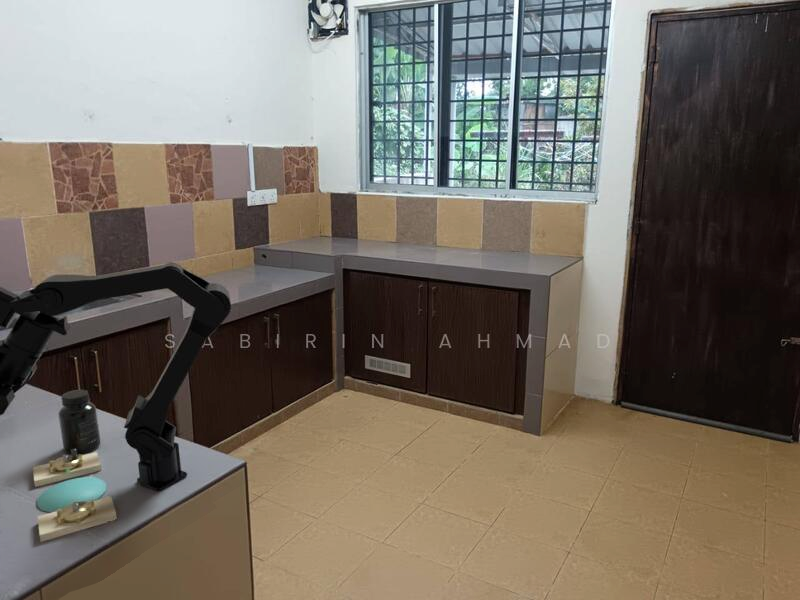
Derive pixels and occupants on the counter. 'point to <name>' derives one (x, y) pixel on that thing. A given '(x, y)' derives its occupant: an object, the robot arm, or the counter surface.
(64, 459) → the brass gears
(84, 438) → the supplement bottle
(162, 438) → the robot arm
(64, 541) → the counter surface
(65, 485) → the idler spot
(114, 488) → the counter surface
